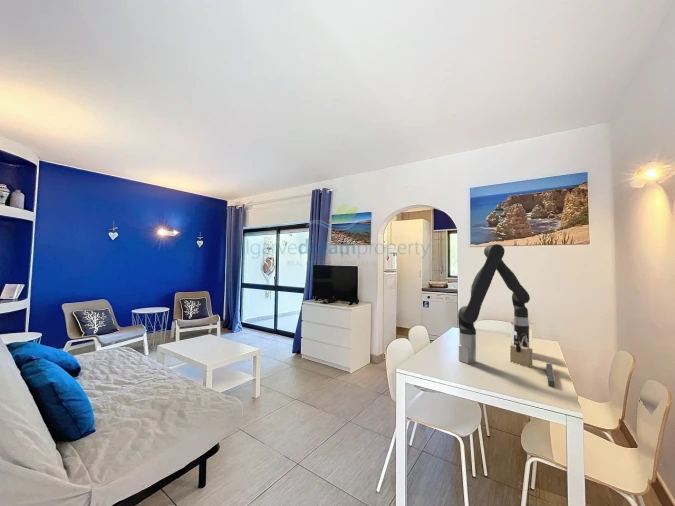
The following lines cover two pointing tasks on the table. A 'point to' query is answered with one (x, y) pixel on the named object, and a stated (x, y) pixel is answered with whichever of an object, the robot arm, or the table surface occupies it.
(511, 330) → the cracker box
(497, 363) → the table surface
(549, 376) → the rail
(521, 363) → the carton
